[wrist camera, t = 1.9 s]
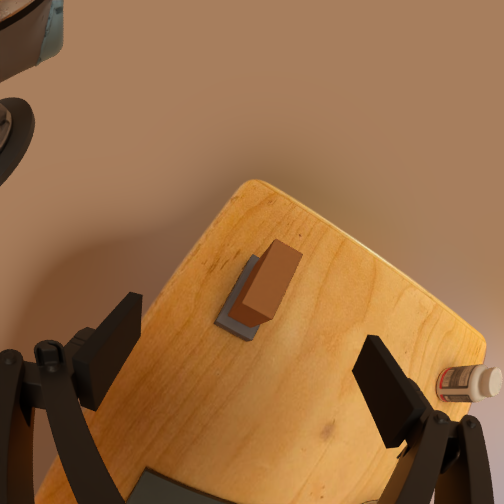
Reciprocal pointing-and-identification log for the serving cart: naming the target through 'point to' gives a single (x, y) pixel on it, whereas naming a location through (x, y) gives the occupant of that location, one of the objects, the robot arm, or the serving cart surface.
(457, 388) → the pill bottle
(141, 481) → the slate board
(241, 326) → the chalk eraser
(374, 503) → the can
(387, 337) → the serving cart surface
